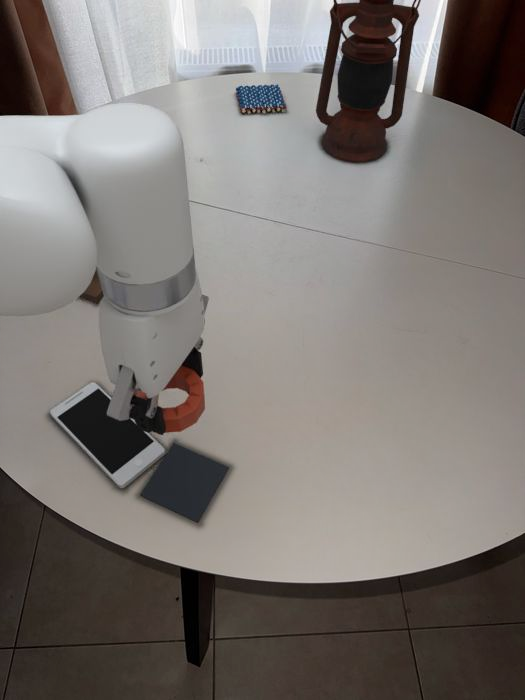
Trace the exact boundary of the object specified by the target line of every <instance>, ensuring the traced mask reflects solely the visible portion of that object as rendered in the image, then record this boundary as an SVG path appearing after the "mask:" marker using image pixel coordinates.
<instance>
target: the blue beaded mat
mask: <svg viewBox="0 0 525 700" xmlns="http://www.w3.org/2000/svg"><path fill="white" fill-rule="evenodd" d="M235 94H236V97H237V98H236V99H237V103H238V107H239V112H241V113H243V114H245V113H246V112H247V114H248V115H250V114H251V113H258V114H260V113H262V114H266V111H267V112H271V111H272V113H273V114H275V112H276V111H277V112H280V111H281V112H282V113H285V112H286V110H285V109H287V104H286V103H285V100H284V96H283V94H282V90H281V87H280V85H279V84H273V83H272V84H259V85H254V84H252V85H245V86H244V85H239V86H238V87H235Z"/></svg>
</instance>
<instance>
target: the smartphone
mask: <svg viewBox="0 0 525 700" xmlns="http://www.w3.org/2000/svg"><path fill="white" fill-rule="evenodd" d="M111 398H112V396H110V395H109V394H108V393H107V392H106V391H105V390H104V389H103V388H102V387H100V386H99V385H98V383H96V382H95V381H91V382H90V383H88V384H87V385H86V386H84V387H82V388H81V389H79V390H78V391H77V392H75V393H74V394H72V395H71V396H70V397H68V398H66V399H65V400H63V401H62V402H60V403H59V404H58V405H56V406H55V407H53V408H52V409H50V410H49V414H50V415H51V418H52V419H53V420H54V421H55V422H56V423H57V424H58V425H59V426H60V427H61V428H62V429H63V430H64V431H65V432H66V433H67V434H68V435H69V436H70V438H71V439H72V440H73V441H74V442H75V443H76V444H77V445H78V446H79V447H80V448H81V449H82V450H83V451H84V452H85V453H86V455H88V456H89V457H90V459H91V460H93V462H94V463H96V465H97V466H98V467H99V468H100V470H102V471H103V472H104V473H105V474H106V475H107V477H109V479H110V480H112V482H114V484H115V485H116V486H117V487H118V488H120V489H125V488H126V487H127V486H128V485H130V484H131V483H132V482H133V481H135V479H137V478H138V477H139V476H141V475H142V474H143V473H144V472H146V471H147V470H148V469H149V468H150V467H152V466H153V465H155V464H156V462H158V461H159V460H160V459H162V458H164V457H165V455H166V450H165V449H166V448H164V446H163V445H162V444H160V442H159V441H157V439H155V438H154V437H153V436H152V435H151V434H150V433H147V432H145V431H143V430H141V429H139V428H138V427H137V425H136V423H135V420H134V419H131V418H129V419H128V420H123V421H119V420H116V419H114V418H112V417H109V416H107V410H108V407H109V404H110V401H111Z"/></svg>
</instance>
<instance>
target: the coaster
mask: <svg viewBox="0 0 525 700" xmlns="http://www.w3.org/2000/svg"><path fill="white" fill-rule="evenodd" d="M229 469H230V467H229V466H228V465H227V464H224V463H222V462H219V461H217V460H214V459H212V458H210V457H208V456H205V455H203V454H200V453H198V452H196V451H193V450H191V449H189V448H187V447H184V446H182V445H180V444H178V443H176V442H173V443H172V444H171V446H170V447H169V449H168V451H167V452H166V453H165V455H164V456H163V457H162V460H161V461H160V462H159V464H158V466H157V467H156V469H155V471H154V472H153V473H152V475H151V476H150V478H149V479H148V481H147V482H146V484H145V485H144V487H143V489H142V491H141V492H140V494H139V496H140V497H143V498H144V499H146V500H149V501H150V502H152V503H155V504H157V505H159V506H161V507H163V508H166V509H167V510H170V511H172V512H174V513H176V514H178V515H180V516H182V517H184V518H187V519H188V520H190V521H193V522H195V523H199V522H200V520H201V518H202V517H203V515H204V513H205V511H206V509H207V508H208V506H209V504H210V502H211V500H212V499H213V497H214V495H215V493H216V492H217V490H218V489H219V486H221V485H220V484H221V483H222V482H223V480H224V479H225V478H224V477H226V474H227V472H228V471H229Z"/></svg>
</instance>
